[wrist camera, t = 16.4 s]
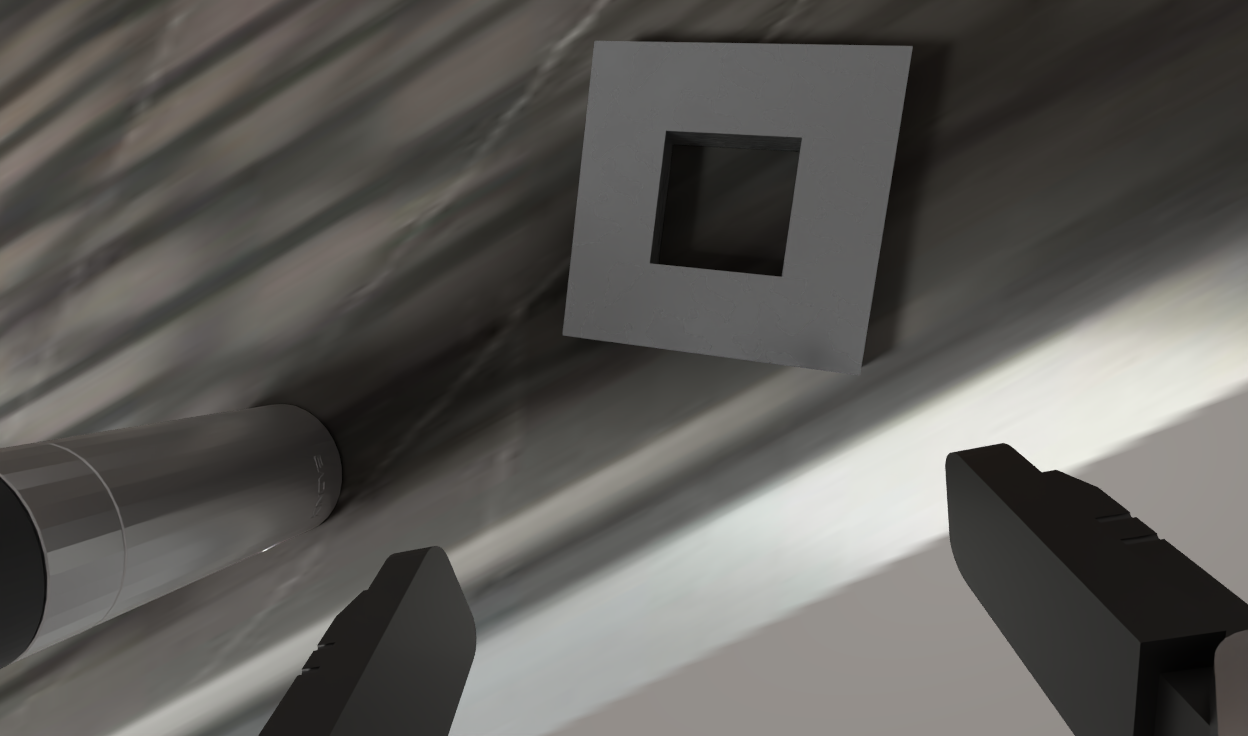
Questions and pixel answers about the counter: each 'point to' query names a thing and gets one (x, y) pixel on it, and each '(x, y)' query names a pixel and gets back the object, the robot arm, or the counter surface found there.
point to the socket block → (752, 119)
